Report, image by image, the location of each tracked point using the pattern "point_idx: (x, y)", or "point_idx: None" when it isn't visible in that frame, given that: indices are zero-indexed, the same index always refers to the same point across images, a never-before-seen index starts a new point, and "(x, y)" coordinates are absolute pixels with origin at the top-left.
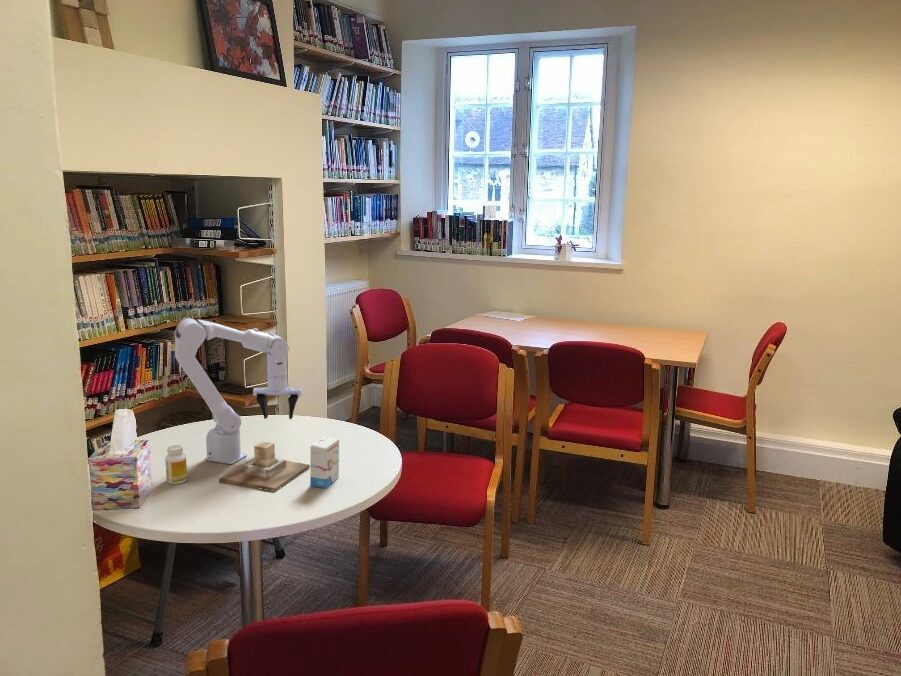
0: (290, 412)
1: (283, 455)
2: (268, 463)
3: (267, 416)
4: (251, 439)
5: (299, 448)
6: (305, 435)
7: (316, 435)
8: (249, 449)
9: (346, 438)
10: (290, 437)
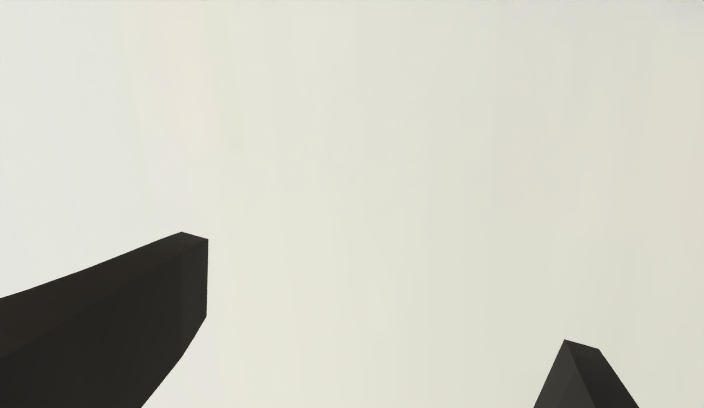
0: (110, 276)
1: (396, 14)
2: None
3: (539, 404)
4: (639, 404)
5: (279, 154)
6: (266, 368)
7: (202, 350)
8: (693, 212)
9: (29, 263)
10: (356, 363)
